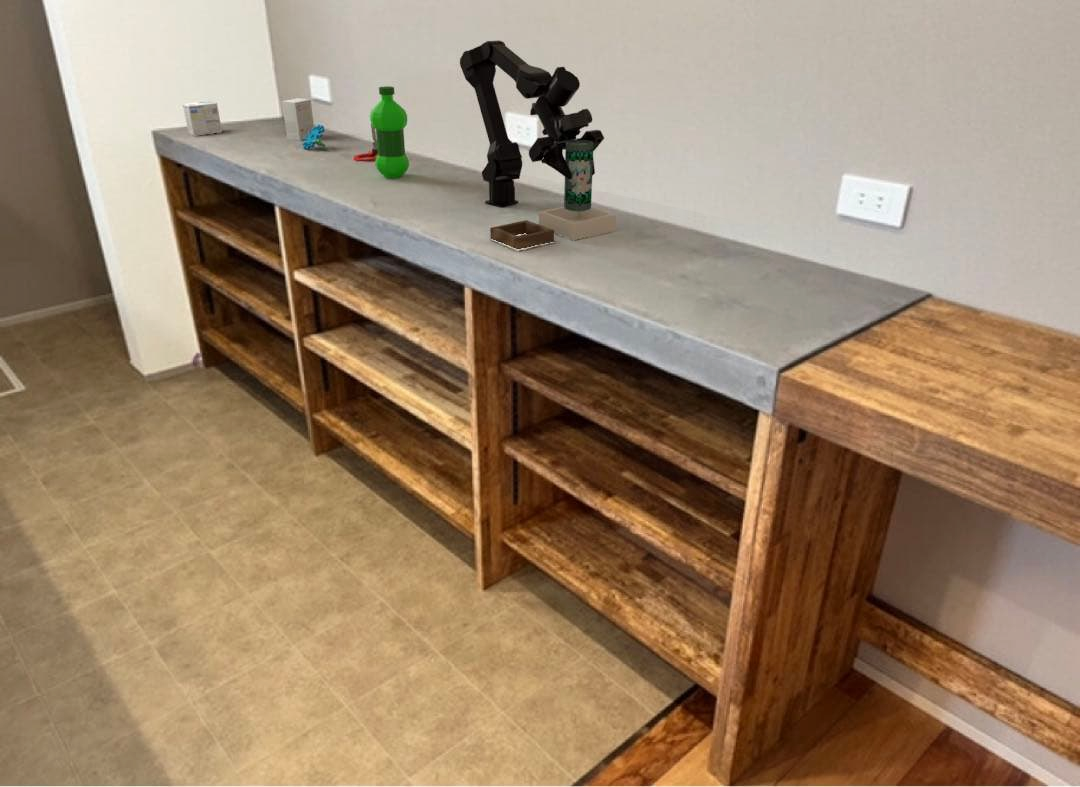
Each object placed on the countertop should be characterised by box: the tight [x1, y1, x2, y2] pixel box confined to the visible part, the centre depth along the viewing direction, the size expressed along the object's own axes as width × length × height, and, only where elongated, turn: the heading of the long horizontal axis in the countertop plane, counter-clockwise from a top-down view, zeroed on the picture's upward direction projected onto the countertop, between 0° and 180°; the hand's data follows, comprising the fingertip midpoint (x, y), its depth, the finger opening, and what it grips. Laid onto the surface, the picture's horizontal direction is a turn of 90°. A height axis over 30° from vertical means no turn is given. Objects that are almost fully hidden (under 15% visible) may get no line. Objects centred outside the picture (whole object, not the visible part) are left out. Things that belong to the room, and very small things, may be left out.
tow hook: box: [353, 123, 378, 162], centre depth 265 cm, size 8×13×9 cm
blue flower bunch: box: [301, 124, 328, 151], centre depth 281 cm, size 11×6×10 cm
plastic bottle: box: [369, 85, 410, 179], centre depth 241 cm, size 10×10×25 cm
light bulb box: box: [182, 100, 223, 137], centre depth 302 cm, size 11×7×11 cm, turn 130°
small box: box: [281, 97, 315, 141], centre depth 295 cm, size 8×6×13 cm
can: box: [563, 140, 594, 211], centre depth 192 cm, size 6×6×15 cm
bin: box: [538, 206, 617, 241], centre depth 198 cm, size 13×13×4 cm
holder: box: [489, 219, 555, 249], centre depth 190 cm, size 10×10×3 cm
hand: (582, 176), depth 191 cm, fingers closed on can, 6 cm apart
